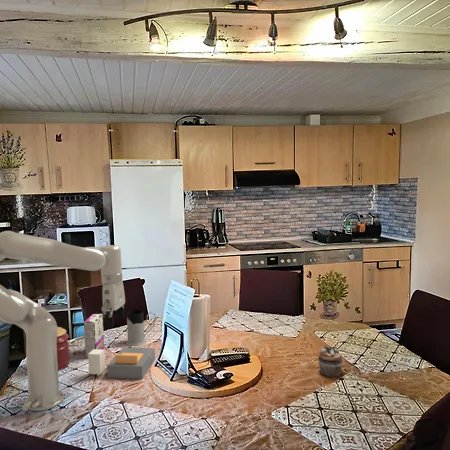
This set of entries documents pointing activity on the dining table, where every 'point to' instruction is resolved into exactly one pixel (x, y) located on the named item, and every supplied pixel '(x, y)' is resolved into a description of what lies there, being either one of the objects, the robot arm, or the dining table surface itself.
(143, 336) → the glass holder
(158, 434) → the dining table surface
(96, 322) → the candy bar box
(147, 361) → the socket
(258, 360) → the dining table surface
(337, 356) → the cupcake
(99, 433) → the dining table surface
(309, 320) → the dining table surface
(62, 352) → the canister
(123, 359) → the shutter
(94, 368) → the block
